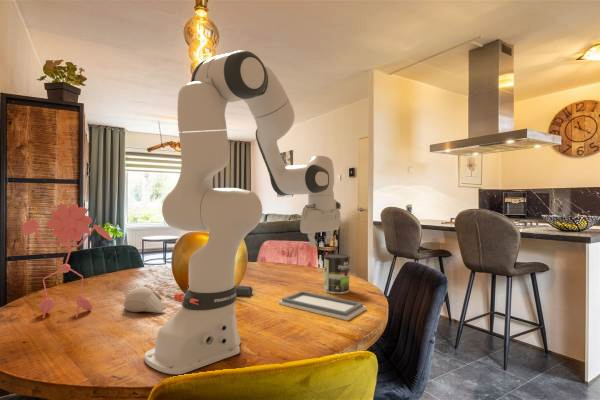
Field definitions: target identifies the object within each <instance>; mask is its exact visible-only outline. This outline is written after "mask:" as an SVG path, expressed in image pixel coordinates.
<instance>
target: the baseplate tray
mask: <svg viewBox="0 0 600 400" xmlns="http://www.w3.org/2000/svg"><path fill="white" fill-rule="evenodd" d="M278 305H281V306H284V307H285V306H286V307H290V308H292V309H293V308H294V309H297V310H298V309H299V310H302V311H304V312H305V311H306V312H309V313H314V314H318V315H322V316H327V317H331V318H336V319H340V320H344V321H348V322H349V320H351V319H353V318H354V317H356V316H358V315H359V314H361V313H363V312H364V311H366V310H367V306H366V305H364V304H363V302H358V301H355V300H349V299H345V298H338V297H334V296H328V295H323V294H319V293H314V292H309V291H303V290H300V291H298V292H296V293H293V294H290V295H287V296H285V297H281V299H280V300H278Z"/></svg>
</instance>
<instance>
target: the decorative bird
mask: <svg viewBox="0 0 600 400" xmlns="http://www.w3.org/2000/svg"><path fill="white" fill-rule="evenodd" d="M124 297H125V298H124V304H123V306H124V308H125V310H127V311H129V312H132V313H140V312H146V313H156V314H157V313H159V314H160V313H162V312H163V311H165V310H166V309H167V306H166V305H165V304H164V302H162V297H161V295H160V294H159V293H158V292H156V291H154V290H153V289H150V288H149V287H146V286H138V287H135V288H133V289H131V290H130V291H128V293H127V294H126V293H125V295H124Z"/></svg>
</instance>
